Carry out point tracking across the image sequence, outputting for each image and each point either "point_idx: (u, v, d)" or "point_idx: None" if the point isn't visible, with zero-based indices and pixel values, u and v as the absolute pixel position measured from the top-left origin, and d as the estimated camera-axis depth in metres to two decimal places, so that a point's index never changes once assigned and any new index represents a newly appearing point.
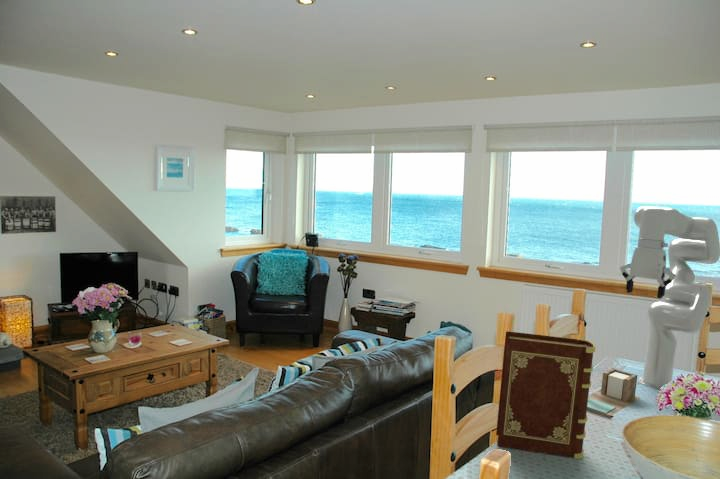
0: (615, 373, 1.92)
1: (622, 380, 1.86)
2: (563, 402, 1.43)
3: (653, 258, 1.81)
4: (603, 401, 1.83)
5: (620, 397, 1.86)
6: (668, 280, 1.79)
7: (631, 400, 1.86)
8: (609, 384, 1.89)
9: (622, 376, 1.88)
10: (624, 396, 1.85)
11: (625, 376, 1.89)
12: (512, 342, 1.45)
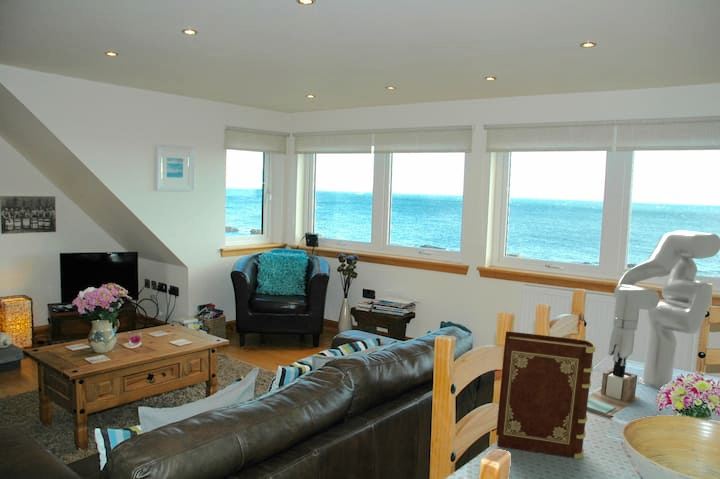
0: None
1: (621, 380, 1.86)
2: (563, 402, 1.43)
3: (633, 336, 1.88)
4: (603, 401, 1.83)
5: (619, 397, 1.86)
6: None
7: (631, 400, 1.86)
8: (608, 384, 1.89)
9: None
10: (624, 396, 1.85)
11: (624, 376, 1.89)
12: (512, 342, 1.45)
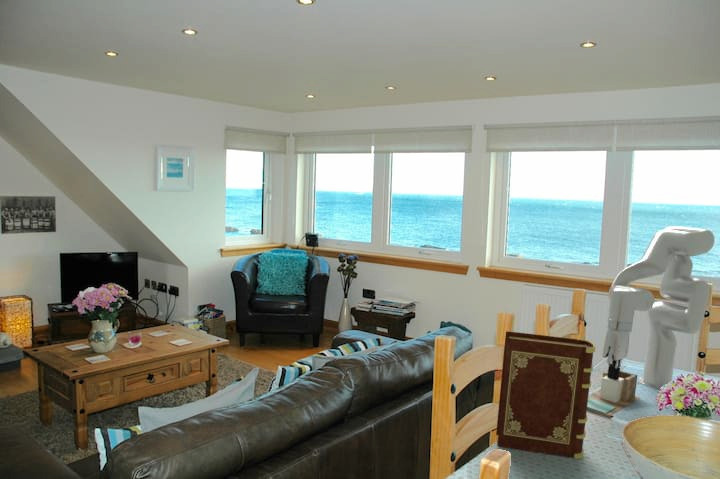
0: None
1: (616, 383, 1.82)
2: (563, 402, 1.43)
3: (628, 338, 1.84)
4: (603, 401, 1.83)
5: (614, 400, 1.83)
6: None
7: (631, 400, 1.86)
8: (603, 387, 1.86)
9: None
10: (624, 396, 1.85)
11: (619, 379, 1.85)
12: (512, 342, 1.45)
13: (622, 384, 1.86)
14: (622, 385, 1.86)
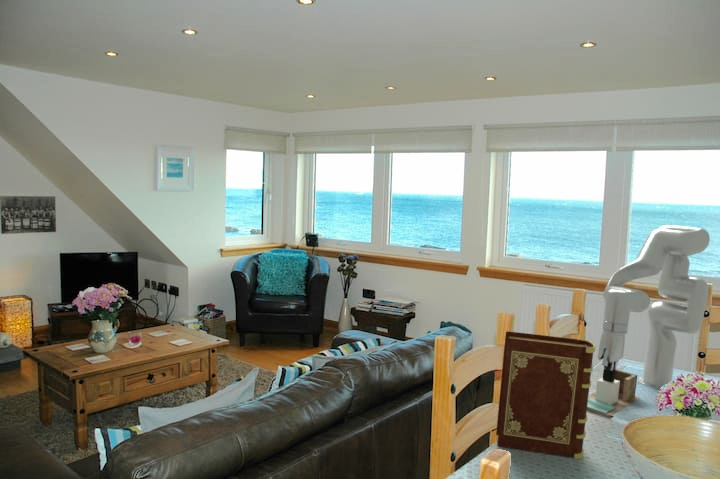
0: None
1: (611, 385, 1.80)
2: (563, 402, 1.43)
3: (623, 340, 1.82)
4: None
5: (609, 403, 1.80)
6: None
7: (631, 400, 1.86)
8: (598, 389, 1.83)
9: None
10: (624, 396, 1.85)
11: (614, 381, 1.83)
12: (512, 342, 1.45)
13: (617, 386, 1.83)
14: (617, 387, 1.83)
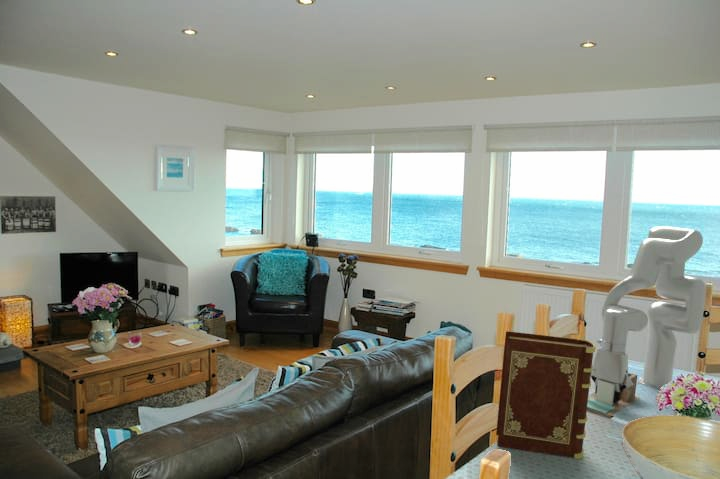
0: None
1: (612, 385, 1.80)
2: (563, 402, 1.43)
3: None
4: None
5: (610, 403, 1.81)
6: None
7: (631, 400, 1.86)
8: (598, 389, 1.83)
9: None
10: (624, 396, 1.85)
11: None
12: (512, 342, 1.45)
13: None
14: None
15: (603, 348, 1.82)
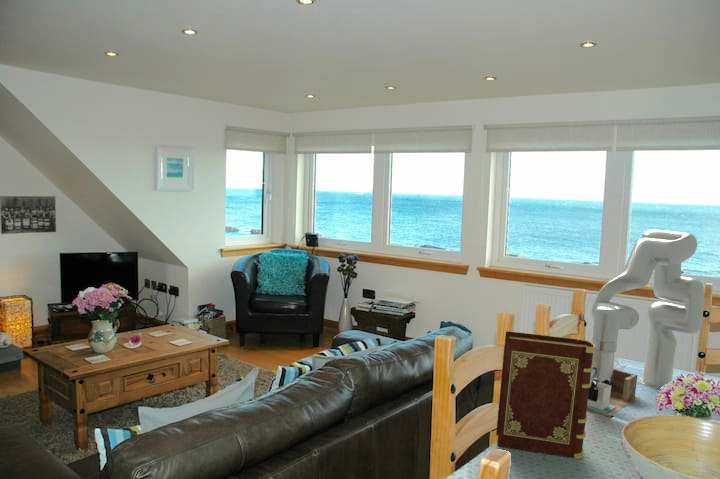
0: (605, 384, 1.78)
1: None
2: (563, 402, 1.43)
3: (612, 358, 1.77)
4: None
5: None
6: None
7: (631, 400, 1.86)
8: None
9: None
10: (624, 396, 1.85)
11: (599, 386, 1.76)
12: (512, 342, 1.45)
13: (600, 392, 1.75)
14: (600, 394, 1.75)
15: None
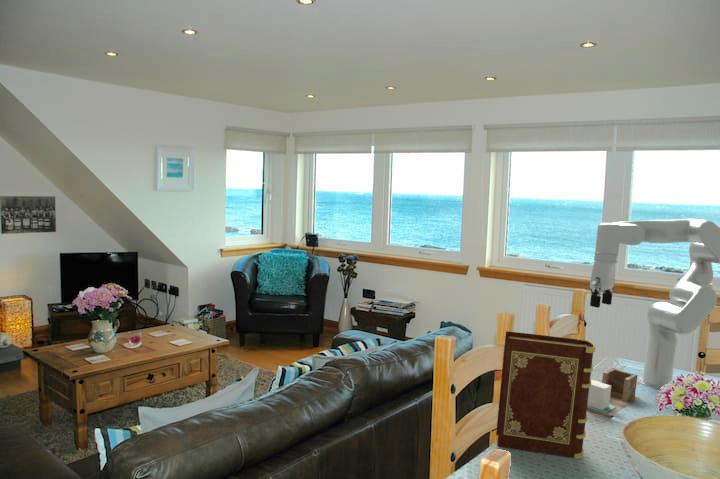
0: (605, 384, 1.78)
1: None
2: (563, 402, 1.43)
3: (614, 270, 1.95)
4: None
5: None
6: (613, 286, 2.00)
7: (631, 400, 1.86)
8: None
9: (596, 384, 1.78)
10: (624, 396, 1.85)
11: (599, 386, 1.76)
12: (512, 342, 1.45)
13: (600, 392, 1.75)
14: (600, 394, 1.75)
15: None
